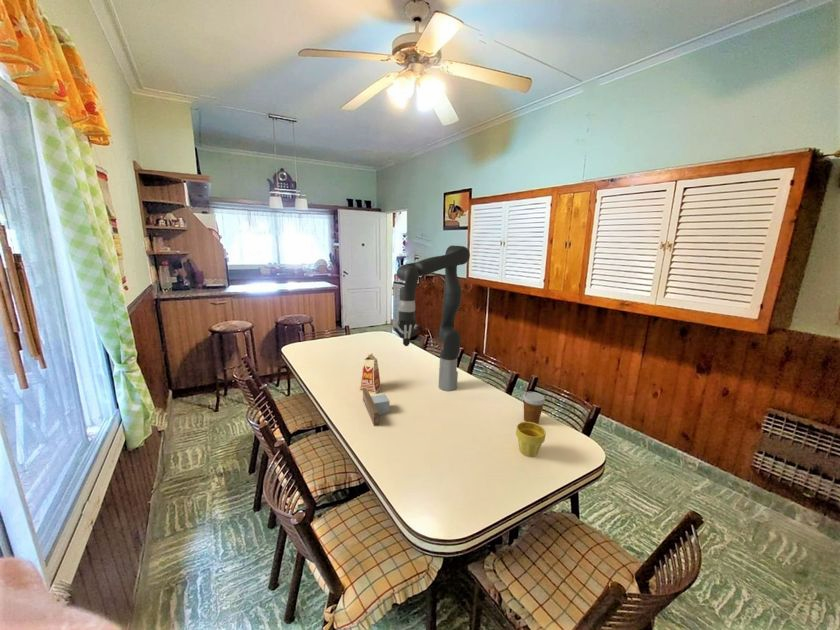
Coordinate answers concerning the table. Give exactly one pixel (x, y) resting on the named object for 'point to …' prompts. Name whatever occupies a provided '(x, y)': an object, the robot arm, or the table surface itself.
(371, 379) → the milk carton
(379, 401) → the block
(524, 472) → the table surface
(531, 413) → the disposable coffee cup
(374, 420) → the board
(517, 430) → the plant pot
